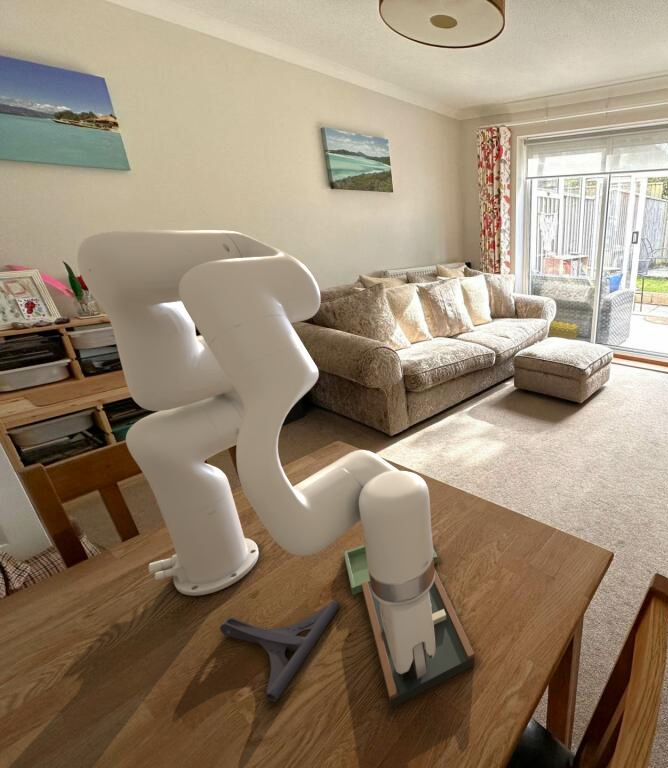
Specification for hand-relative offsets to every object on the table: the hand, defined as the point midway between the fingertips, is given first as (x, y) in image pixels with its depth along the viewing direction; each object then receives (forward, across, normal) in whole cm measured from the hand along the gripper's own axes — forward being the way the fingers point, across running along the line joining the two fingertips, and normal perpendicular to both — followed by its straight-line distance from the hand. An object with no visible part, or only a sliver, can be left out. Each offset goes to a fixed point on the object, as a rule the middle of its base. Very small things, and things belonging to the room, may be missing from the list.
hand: (413, 671), depth 55 cm
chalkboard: (+2, -8, +2) cm, 9 cm away
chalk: (0, -6, +5) cm, 8 cm away
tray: (+2, -23, +2) cm, 24 cm away
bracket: (+2, -16, -18) cm, 24 cm away
